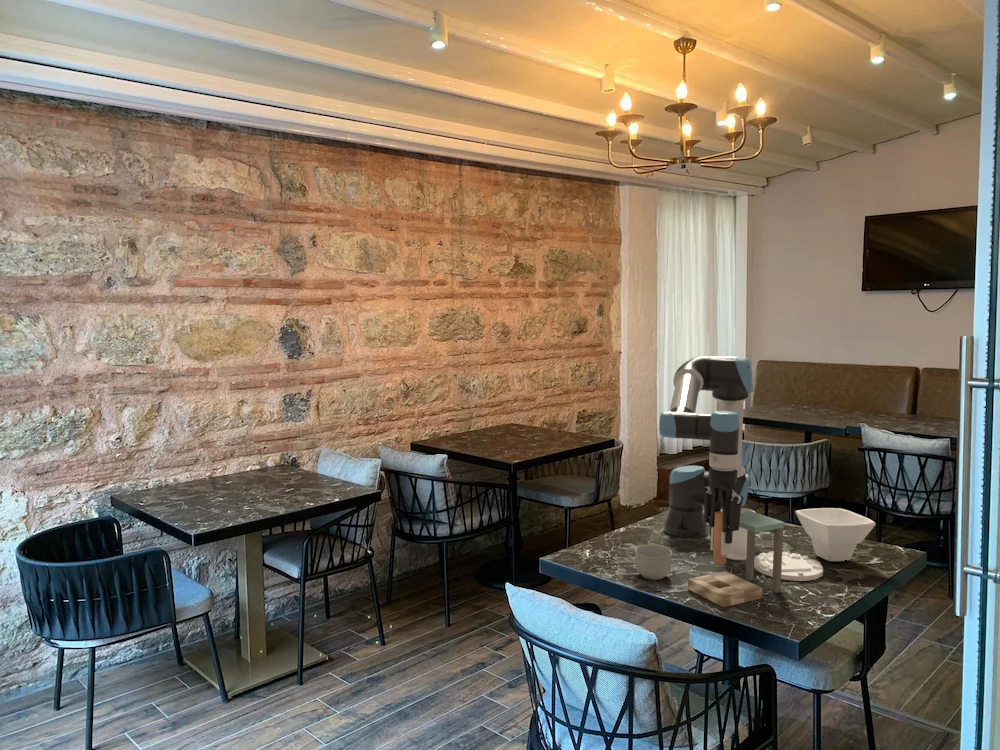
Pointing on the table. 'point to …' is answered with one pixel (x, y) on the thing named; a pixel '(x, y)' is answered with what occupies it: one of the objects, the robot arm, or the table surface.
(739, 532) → the jar
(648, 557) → the teacup
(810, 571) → the white round plaque
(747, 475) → the robot arm
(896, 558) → the table surface
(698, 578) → the socket block
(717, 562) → the peg
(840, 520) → the bowl
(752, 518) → the green-topped stool
